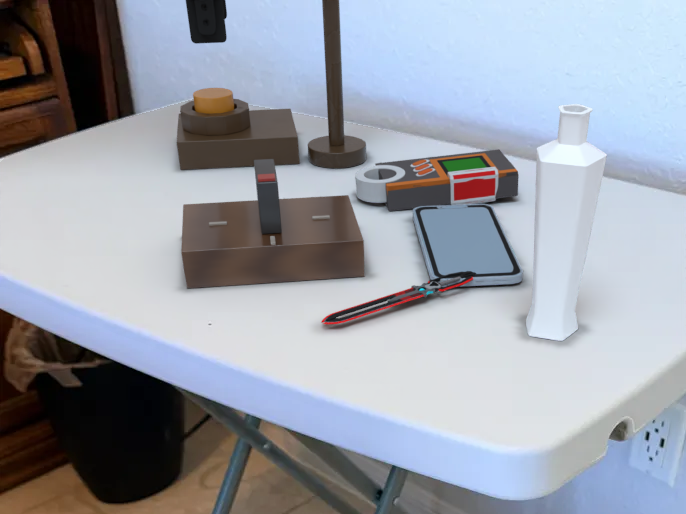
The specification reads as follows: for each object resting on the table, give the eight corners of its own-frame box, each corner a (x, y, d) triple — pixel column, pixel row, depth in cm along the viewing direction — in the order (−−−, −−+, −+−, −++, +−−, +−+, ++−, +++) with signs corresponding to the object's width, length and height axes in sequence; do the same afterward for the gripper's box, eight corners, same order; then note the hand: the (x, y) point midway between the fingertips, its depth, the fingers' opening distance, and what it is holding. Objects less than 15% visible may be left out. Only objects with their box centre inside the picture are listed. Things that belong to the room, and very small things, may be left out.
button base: (180, 170, 93) (173, 123, 90) (182, 139, 101) (175, 95, 98) (299, 163, 95) (296, 117, 92) (292, 134, 102) (289, 90, 99)
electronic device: (350, 162, 88) (502, 145, 90) (352, 193, 90) (502, 175, 92) (361, 187, 83) (523, 168, 85) (363, 219, 85) (521, 200, 87)
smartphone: (432, 280, 72) (410, 206, 83) (432, 290, 72) (410, 215, 84) (526, 275, 72) (492, 203, 84) (525, 285, 73) (491, 212, 84)
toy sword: (314, 321, 68) (314, 313, 67) (467, 272, 73) (468, 264, 73) (328, 333, 66) (328, 324, 66) (482, 281, 72) (483, 274, 72)
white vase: (504, 325, 68) (521, 106, 58) (549, 309, 70) (573, 95, 60) (546, 349, 65) (571, 124, 55) (592, 332, 67) (624, 112, 57)
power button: (195, 117, 93) (192, 99, 92) (195, 106, 96) (192, 88, 95) (235, 115, 94) (233, 97, 93) (234, 104, 97) (232, 86, 96)
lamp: (302, 173, 93) (279, -158, 76) (295, 148, 99) (274, -164, 82) (381, 169, 94) (376, -159, 77) (370, 144, 100) (364, -164, 83)
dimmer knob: (258, 209, 77) (253, 156, 74) (277, 207, 77) (273, 155, 74) (261, 234, 73) (256, 179, 70) (281, 233, 73) (277, 178, 70)
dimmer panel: (186, 288, 72) (180, 249, 70) (188, 238, 80) (182, 202, 78) (364, 276, 74) (363, 238, 72) (349, 229, 82) (348, 193, 80)
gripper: (143, -202, 83) (174, 12, 95) (127, -195, 70) (165, 53, 81) (227, -203, 84) (248, 10, 95) (226, -196, 71) (251, 50, 82)
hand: (210, 30), depth 88 cm, fingers open, 9 cm apart
